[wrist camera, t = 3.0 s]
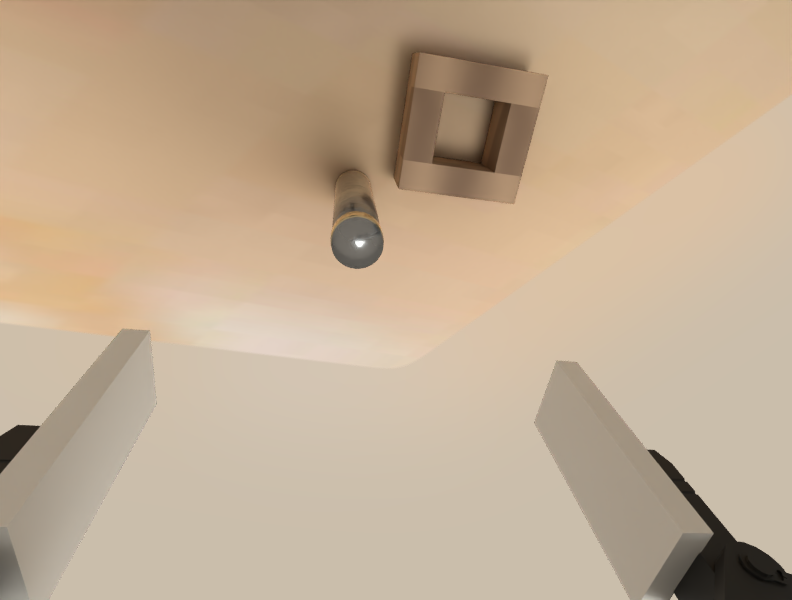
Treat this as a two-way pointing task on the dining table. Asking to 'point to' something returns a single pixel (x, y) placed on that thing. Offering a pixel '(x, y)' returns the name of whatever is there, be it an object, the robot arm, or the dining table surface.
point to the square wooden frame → (505, 136)
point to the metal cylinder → (355, 222)
